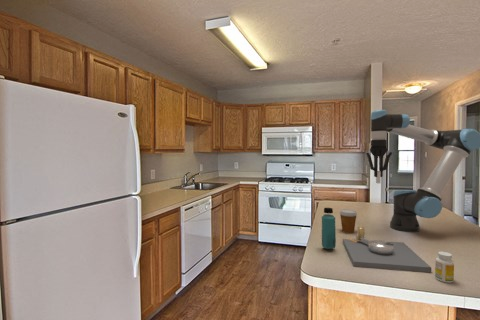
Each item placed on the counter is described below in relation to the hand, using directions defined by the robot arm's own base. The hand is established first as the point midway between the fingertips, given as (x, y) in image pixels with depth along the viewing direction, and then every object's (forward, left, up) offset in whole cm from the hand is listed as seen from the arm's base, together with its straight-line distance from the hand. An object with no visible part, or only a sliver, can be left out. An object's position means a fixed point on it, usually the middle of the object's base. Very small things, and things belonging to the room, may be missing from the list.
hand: (378, 183), depth 141 cm
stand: (+6, +27, -29) cm, 40 cm away
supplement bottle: (-10, +46, -30) cm, 56 cm away
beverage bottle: (+28, +24, -30) cm, 47 cm away
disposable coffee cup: (+14, -7, -30) cm, 33 cm away
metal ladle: (+8, +23, -27) cm, 37 cm away
